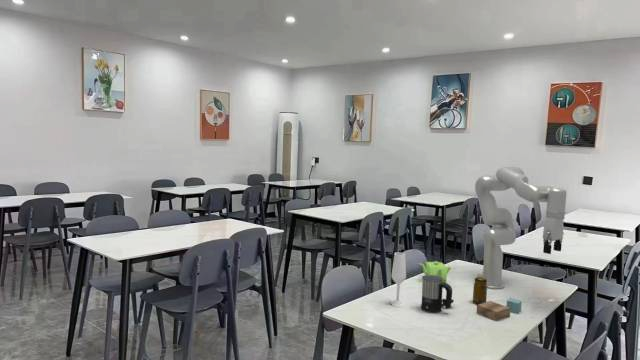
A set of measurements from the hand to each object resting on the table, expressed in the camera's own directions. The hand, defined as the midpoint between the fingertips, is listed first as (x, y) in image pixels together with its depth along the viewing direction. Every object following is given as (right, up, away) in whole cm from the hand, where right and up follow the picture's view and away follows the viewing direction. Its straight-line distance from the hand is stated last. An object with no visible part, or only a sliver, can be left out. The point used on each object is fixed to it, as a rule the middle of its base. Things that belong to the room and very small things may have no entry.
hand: (552, 252), depth 204 cm
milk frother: (-53, -26, 0) cm, 59 cm away
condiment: (-30, -26, +8) cm, 41 cm away
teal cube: (-18, -27, -1) cm, 33 cm away
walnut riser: (-30, -27, -7) cm, 41 cm away
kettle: (-44, -23, +39) cm, 63 cm away
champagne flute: (-71, -25, +3) cm, 75 cm away
